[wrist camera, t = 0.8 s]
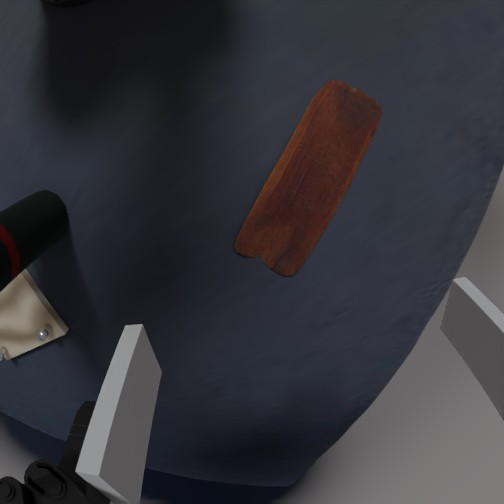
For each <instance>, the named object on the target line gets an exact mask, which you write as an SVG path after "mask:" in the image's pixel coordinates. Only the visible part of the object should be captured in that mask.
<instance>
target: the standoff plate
mask: <svg viewBox="0 0 504 504" xmlns="http://www.w3.org/2000/svg"><path fill="white" fill-rule="evenodd" d="M68 330H69V328H68V327H67V326H66V324H65V323H64V322H63V320H62V319H61V318H60V317H59V315H58V314H57V313H56V311H55V310H54V309H53V307H52V306H51V305H50V303H49V302H48V300H47V299H46V298H45V296H44V295H43V293H42V292H41V291H40V289H39V288H38V286H37V285H36V283H35V282H34V280H33V279H32V277H31V276H30V274H29V273H28V271H27V270H26V269H25V270H23V271H22V272H21V273H20V274H19V275H18V276H17V277H16V278H15V279H14V280H13V281H12V282H11V283H10V284H8V285H7V286H6V287H5V288H4V289H3V290H2V291H1V292H0V361H1V360H2V358H3V357H5V358H6V359H7V360H9V359H11V358H13V357H16V356H18V355H20V354H22V353H24V352H27V351H29V350H31V349H33V348H36V347H38V346H40V345H42V344H45V343H47V342H49V341H51V340H54V339H56V338H58V337H60V336H63V335H65V334H66V333H67V331H68Z"/></svg>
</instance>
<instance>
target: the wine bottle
mask: <svg viewBox="0 0 504 504" xmlns="http://www.w3.org/2000/svg"><path fill="white" fill-rule="evenodd" d="M68 220H69V219H68V214H67V210H66V206H65V204H64V203H63V202H62V200H61V199H60V198H59V196H58V195H57V194H55V193H52V192H50V191H48V190H43V191H39V192H36V193H34V194H32V195H30V196H28V197H26V198H24V199H22V200H21V201H19V202H17V203H15V204H13V205H12V206H10V207H8V208H6V209H5V210H3V211H1V212H0V292H1V291H2V290H3V289H4V288H5V287H6V286H7V285H8V284H10V283H11V282H12V281H13V280H14V279H15V278H16V277H17V276H18V275H19V274H20V273H21V272H22V271H23V270H25V269H26V268H27V267H28V266H29V265H30V264H31V263H32V262H33V261H35V260H36V259H37V258H38V257H39V256H40V255H41V254H42V253H44V252H45V251H46V250H47V249H48V248H49V247H51V246H52V245H53V244H54V243H55V242H57V241H58V240H59V239H60V238H61V237H62V236H63V235H64V234H65V233H66V230H67V225H68Z"/></svg>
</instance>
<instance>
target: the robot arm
mask: <svg viewBox="0 0 504 504" xmlns="http://www.w3.org/2000/svg"><path fill="white" fill-rule="evenodd" d="M45 1H47V2H49V3H51V4H53V5H56V6H60V7H71V6H77V5H80V4H83V3H86V2H89V1H91V0H45ZM440 328H441V330H442V331H443V333H444V334H445V335H446V336H447V338H448V339H449V341H450V342H451V343H452V345H453V346H454V347H455V349H456V350H457V351H458V353H459V354H460V356H461V357H462V358H463V360H464V361H465V363H466V364H467V365H468V367H469V368H470V370H471V371H472V373H473V374H474V375H475V377H476V378H477V380H478V381H479V383H480V384H481V386H482V387H483V389H484V390H485V392H486V393H487V395H488V396H489V398H490V399H491V401H492V403H493V404H494V406H495V407H496V409H497V410H498V412H499V414H500V415H501V417H502V419H503V420H504V315H503V314H502V313H501V312H500V311H499V309H497V308H496V306H495V305H494V304H493V303H491V302H490V300H488V298H487V297H486V296H485V295H483V294H482V293H481V292H480V291H479V290H478V289H477V288H476V287H475V286H474V285H473V284H472V283H471V282H470V281H469V280H468V279H467V278H465V277H462V278H458V279H453V280H452V285H451V289H450V294H449V298H448V302H447V306H446V309H445V313H444V317H443V320H442V324H441V327H440ZM161 374H162V371H161V369H160V366H159V364H158V362H157V359H156V357H155V354H154V352H153V349H152V347H151V344H150V342H149V339H148V337H147V334H146V332H145V329H144V326H143V324H138V325H125V328H124V330H123V333H122V335H121V338H120V340H119V343H118V345H117V348H116V350H115V353H114V356H113V358H112V361H111V363H110V366H109V369H108V372H107V374H106V377H105V380H104V383H103V385H102V388H101V391H100V394H99V397H98V400H97V402H93V401H85V402H84V404H83V405H82V406H81V407H80V408H79V410H78V411H77V413H76V416H75V418H74V421H73V426H72V427H71V430H70V435H68V438H67V441H66V444H65V448H64V450H63V454H62V457H61V460H60V463H59V466H56V465H55V464H54V463H53V462H51V461H49V460H45V459H40V460H36V461H34V462H33V463H31V464H30V465H29V467H28V468H27V470H26V471H25V476H24V481H25V484H22V483H20V482H19V481H18V480H16V479H15V478H13V477H7V476H6V477H4V478H1V479H0V504H110V501H112V502H113V503H114V504H139V503H140V495H141V488H142V481H143V474H144V467H145V461H146V455H147V449H148V443H149V437H150V431H151V425H152V420H153V414H154V409H155V404H156V399H157V393H158V388H159V383H160V378H161Z"/></svg>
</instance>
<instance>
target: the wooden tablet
mask: <svg viewBox="0 0 504 504" xmlns="http://www.w3.org/2000/svg"><path fill="white" fill-rule="evenodd" d="M381 114H382V107H381V105H380V104H378V103H377V102H376V101H375V100H373V99H372V98H370V97H369V96H368V95H367V94H365V93H364V92H363V91H361V90H359V89H357V90H355V89H353V87H351V86H350V85H348V84H346V83H345V82H339V81H336V80H331V81H329V82H328V83H327V84H326V85H325V86H324V87H323V88H322V89H321V90H320V91H319V92H318V93H317V94H316V95H315V96H314V98H313V99H312V101H311V102H310V104H309V106H308V108H307V110H306V112H305V113H304V115H303V117H302V119H301V121H300V123H299V124H298V126H297V128H296V130H295V132H294V134H293V135H292V137H291V139H290V141H289V143H288V145H287V146H286V148H285V150H284V152H283V154H282V155H281V157H280V159H279V160H278V162H277V164H276V166H275V168H274V169H273V171H272V173H271V174H270V176H269V178H268V180H267V182H266V183H265V185H264V187H263V189H262V191H261V192H260V194H259V196H258V198H257V200H256V202H255V204H254V206H253V207H252V209H251V211H250V213H249V214H248V216H247V218H246V220H245V222H244V224H243V225H242V227H241V229H240V232H239V233H238V236H237V238H236V241H235V244H234V249H235V252H236V253H238V254H241V255H244V256H247V257H258V256H260V257H261V258H262V260H263V262H264V263H265V264H266V265H267V266H268V267H269V268H271V269H272V270H274V271H275V272H277V273H279V274H281V275H284V276H292V275H294V274H295V273H296V272H297V271H298V269H299V268H300V267H301V265H302V264H303V263H304V262H305V260H306V259H307V257H308V256H309V254H310V253H311V251H312V250H313V248H314V247H315V245H316V243H317V242H318V240H319V238H320V237H321V235H322V234H323V232H324V230H325V229H326V227H327V225H328V224H329V222H330V220H331V218H332V216H333V215H334V213H335V212H336V210H337V208H338V206H339V204H340V202H341V200H342V198H343V196H344V194H345V192H346V190H347V189H348V187H349V185H350V183H351V181H352V179H353V177H354V175H355V173H356V171H357V169H358V167H359V165H360V163H361V161H362V158H363V157H364V155H365V152H366V150H367V148H368V146H369V144H370V142H371V140H372V136H373V135H374V133H375V131H376V129H377V126H378V124H379V121H380V118H381Z"/></svg>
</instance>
